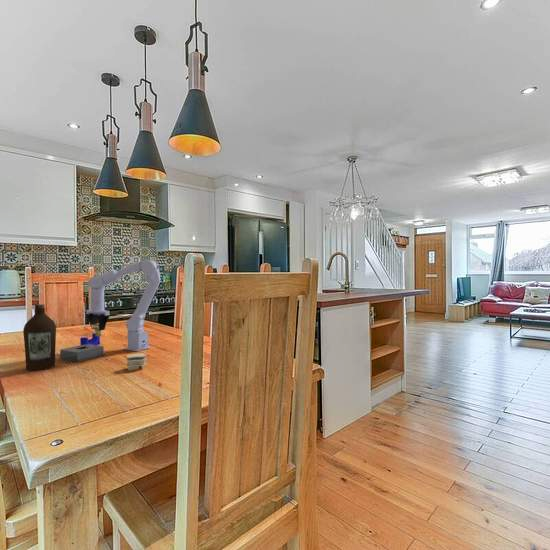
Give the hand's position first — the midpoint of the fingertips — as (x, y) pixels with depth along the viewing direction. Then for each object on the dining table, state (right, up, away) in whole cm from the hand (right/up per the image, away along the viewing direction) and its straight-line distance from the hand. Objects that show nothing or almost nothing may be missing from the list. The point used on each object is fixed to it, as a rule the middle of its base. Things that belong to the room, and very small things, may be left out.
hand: (98, 329), depth 157 cm
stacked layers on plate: (+31, -11, -29) cm, 44 cm away
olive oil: (-8, -11, -27) cm, 30 cm away
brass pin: (0, -3, 0) cm, 3 cm away
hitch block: (-1, -10, -12) cm, 16 cm away
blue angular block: (-9, -10, +7) cm, 15 cm away
